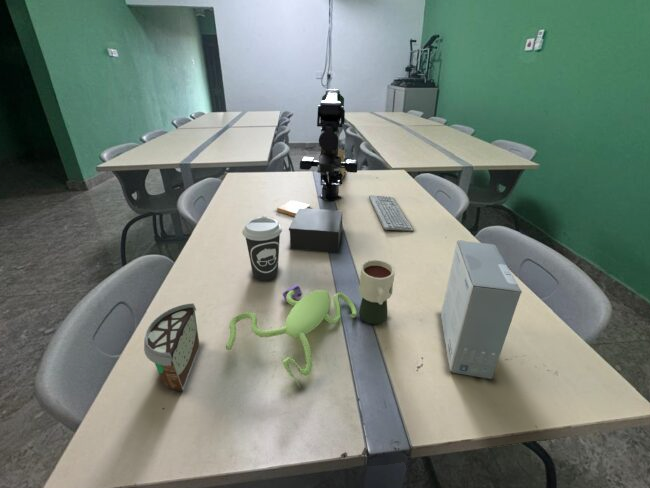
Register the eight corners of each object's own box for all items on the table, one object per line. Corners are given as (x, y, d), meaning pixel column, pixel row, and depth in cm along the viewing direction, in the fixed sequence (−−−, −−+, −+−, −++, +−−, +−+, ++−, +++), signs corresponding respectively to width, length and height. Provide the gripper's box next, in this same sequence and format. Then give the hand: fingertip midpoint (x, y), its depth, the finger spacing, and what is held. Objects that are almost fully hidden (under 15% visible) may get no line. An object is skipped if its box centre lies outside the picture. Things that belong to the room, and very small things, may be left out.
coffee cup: (289, 267, 87) (288, 219, 81) (272, 288, 79) (269, 236, 73) (259, 260, 90) (255, 212, 84) (239, 279, 82) (233, 228, 75)
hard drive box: (493, 381, 57) (523, 293, 49) (449, 373, 58) (471, 286, 50) (474, 319, 71) (495, 243, 63) (439, 314, 72) (455, 238, 64)
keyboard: (413, 231, 109) (414, 226, 108) (384, 231, 108) (384, 226, 107) (392, 198, 135) (392, 194, 135) (368, 198, 135) (369, 194, 134)
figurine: (215, 352, 61) (211, 331, 59) (300, 281, 82) (300, 263, 79) (288, 404, 52) (287, 381, 50) (364, 310, 73) (365, 290, 71)
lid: (338, 234, 91) (338, 232, 91) (288, 230, 92) (288, 228, 92) (342, 213, 105) (342, 210, 104) (299, 209, 106) (299, 207, 105)
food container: (170, 341, 63) (160, 302, 59) (202, 340, 64) (194, 301, 59) (140, 401, 52) (126, 358, 48) (179, 399, 52) (168, 356, 48)
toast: (291, 203, 127) (291, 200, 127) (310, 208, 123) (310, 205, 123) (277, 211, 120) (277, 207, 120) (296, 217, 116) (296, 213, 116)
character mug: (394, 334, 66) (401, 284, 61) (360, 336, 66) (365, 285, 61) (383, 299, 76) (388, 254, 71) (354, 300, 76) (357, 254, 70)
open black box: (338, 252, 95) (338, 232, 92) (290, 248, 96) (289, 229, 93) (341, 231, 107) (342, 213, 105) (299, 228, 108) (299, 210, 106)
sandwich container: (346, 170, 169) (347, 143, 163) (342, 180, 155) (344, 150, 149) (330, 169, 170) (331, 141, 164) (325, 178, 156) (326, 148, 150)
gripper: (295, 147, 94) (296, 196, 101) (358, 151, 93) (355, 199, 99) (302, 139, 104) (303, 184, 111) (359, 142, 103) (356, 187, 109)
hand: (328, 189), depth 107 cm, fingers closed
